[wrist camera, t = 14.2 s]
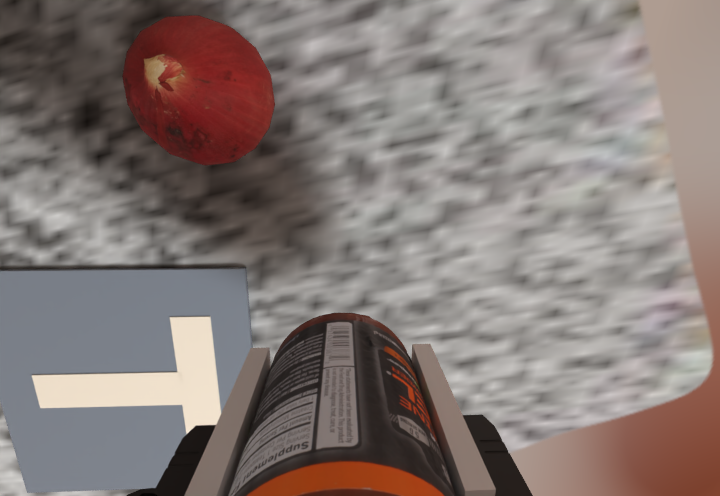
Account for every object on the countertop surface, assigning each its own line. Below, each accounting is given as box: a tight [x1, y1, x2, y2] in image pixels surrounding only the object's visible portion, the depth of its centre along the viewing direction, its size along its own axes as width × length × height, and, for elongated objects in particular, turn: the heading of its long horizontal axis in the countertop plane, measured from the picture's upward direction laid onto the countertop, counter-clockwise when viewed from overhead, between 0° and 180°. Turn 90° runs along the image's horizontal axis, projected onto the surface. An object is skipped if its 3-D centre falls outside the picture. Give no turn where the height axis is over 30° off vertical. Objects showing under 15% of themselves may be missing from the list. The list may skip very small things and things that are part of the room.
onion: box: [122, 16, 275, 165], centre depth 15 cm, size 6×6×8 cm
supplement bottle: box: [228, 313, 456, 496], centre depth 10 cm, size 6×6×11 cm
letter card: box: [0, 268, 253, 493], centre depth 23 cm, size 16×16×1 cm
